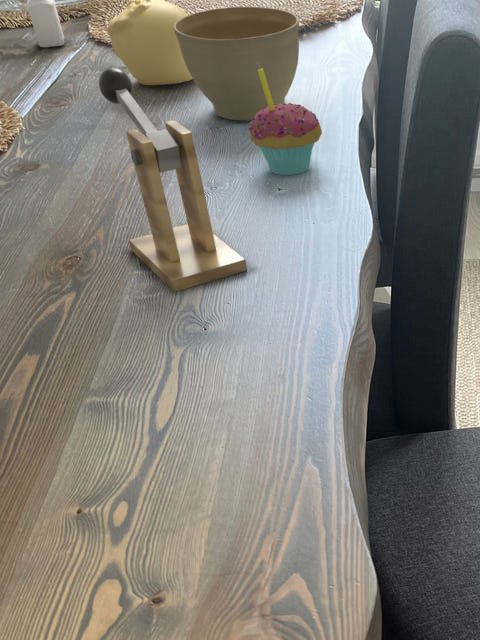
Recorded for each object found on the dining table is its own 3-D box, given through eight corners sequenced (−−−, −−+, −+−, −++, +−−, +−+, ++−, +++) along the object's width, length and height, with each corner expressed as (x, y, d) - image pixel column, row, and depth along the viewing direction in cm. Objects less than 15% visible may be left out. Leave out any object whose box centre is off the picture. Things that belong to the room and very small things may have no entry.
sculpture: (154, 66, 155) (136, -16, 147) (222, 73, 151) (206, -10, 144) (110, 89, 147) (88, 4, 140) (179, 97, 144) (161, 10, 136)
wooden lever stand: (131, 250, 108) (97, 123, 99) (200, 231, 111) (173, 106, 102) (174, 292, 101) (141, 158, 92) (247, 270, 104) (222, 139, 95)
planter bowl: (264, 138, 131) (249, 44, 124) (168, 121, 137) (147, 30, 129) (332, 100, 141) (321, 12, 134) (239, 86, 147) (224, 0, 139)
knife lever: (96, 95, 103) (91, 64, 100) (126, 88, 104) (121, 58, 102) (155, 178, 98) (151, 148, 96) (186, 170, 100) (183, 140, 97)
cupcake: (266, 186, 120) (247, 75, 111) (247, 162, 125) (228, 55, 117) (334, 173, 122) (321, 64, 114) (313, 151, 128) (299, 44, 119)
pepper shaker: (65, 46, 163) (46, -22, 156) (39, 49, 162) (19, -20, 156) (65, 40, 166) (46, -28, 159) (40, 42, 165) (20, -26, 158)
